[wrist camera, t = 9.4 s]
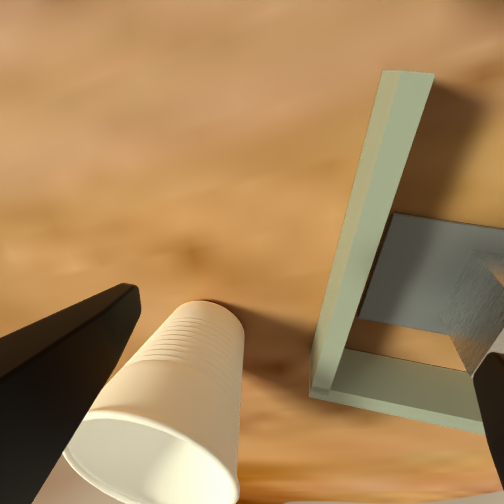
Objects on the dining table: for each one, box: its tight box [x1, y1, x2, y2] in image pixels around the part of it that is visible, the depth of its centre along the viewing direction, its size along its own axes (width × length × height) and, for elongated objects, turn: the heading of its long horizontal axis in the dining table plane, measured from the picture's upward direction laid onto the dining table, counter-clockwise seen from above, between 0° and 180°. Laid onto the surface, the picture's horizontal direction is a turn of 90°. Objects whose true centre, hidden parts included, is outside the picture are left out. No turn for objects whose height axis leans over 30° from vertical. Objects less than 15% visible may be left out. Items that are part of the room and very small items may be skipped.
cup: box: [63, 301, 245, 504], centre depth 21 cm, size 10×10×11 cm
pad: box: [358, 213, 504, 335], centre depth 20 cm, size 8×11×1 cm
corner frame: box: [309, 70, 485, 435], centre depth 17 cm, size 20×16×4 cm
